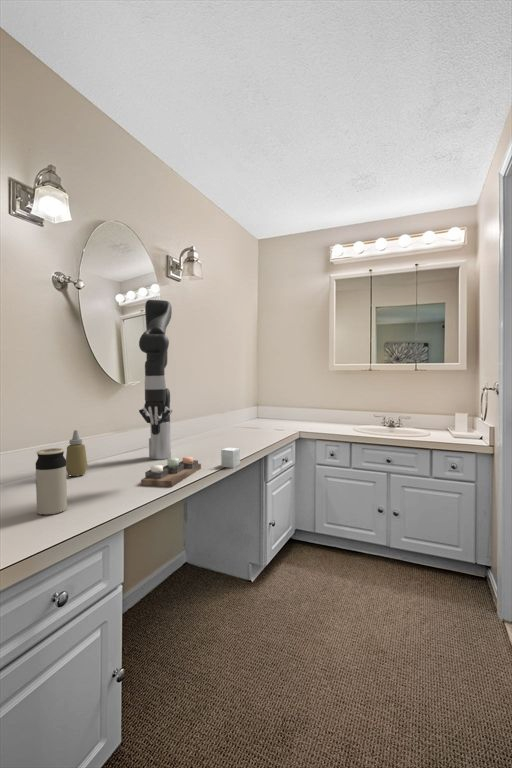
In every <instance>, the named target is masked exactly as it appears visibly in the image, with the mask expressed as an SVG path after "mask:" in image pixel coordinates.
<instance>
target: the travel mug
mask: <svg viewBox="0 0 512 768" xmlns="http://www.w3.org/2000/svg"><path fill="white" fill-rule="evenodd" d="M65 451H66V450H65V448H62V447H55V448H52V447H51V448H44V449H40V450H37V451H36V452H35V453H36V455H37V459H36V461H35V489H36V490H35V492H36V494H35V495H36V497H35V498H36V513H37V514H38V513H39V514H38V515H41V514H53V515H56V514H55V513H58V514H60V513H59V512H61V513H63V512H65V511H66V510H67V509H68V485H67V484H68V483H67V482H68V481H67V470H66V457H65V456H64V453H65ZM62 511H63V512H62Z"/></svg>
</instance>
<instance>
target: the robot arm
mask: <svg viewBox="0 0 512 768" xmlns="http://www.w3.org/2000/svg"><path fill="white" fill-rule="evenodd" d="M144 305H145V307H144V314H145V327H146V328H145V329H146V330H145V331H144V332H143V333H142V334H141V335H140V338H139V341H138V346H139V347H138V348H139V349H140V351H141V352H143V353H145V354H146V361H145V362H144V375H145V376H144V401H145V402H144V405H143V407H142V408H141V409H138V412H139V414H140V415H141V417H142V418H143V420H144V421H145V422H146V423H147V424H149V425H150V428H149V429H150V438H148V459H152V460H167V459H168V458H172V452H171V449H172V447H171V446H172V445H171V415H172V413H173V409H171V392H170V389H169V388H167V387H166V376H165V369H166V367H167V365H168V349H169V344H170V340H169V338H168V336H167V335H166V331H167V327H169V326H168V325H169V324H170V321H171V319H172V315H173V314H172V303H171V302H170V301H168V300H160V299H159V300H158V299H148V300H146V302H145V304H144Z"/></svg>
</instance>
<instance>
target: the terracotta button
mask: <svg viewBox="0 0 512 768" xmlns="http://www.w3.org/2000/svg"><path fill="white" fill-rule="evenodd" d="M193 460H194V457H193V456H184V457H182V461H183V463H193Z"/></svg>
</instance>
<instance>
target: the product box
mask: <svg viewBox="0 0 512 768" xmlns="http://www.w3.org/2000/svg"><path fill="white" fill-rule="evenodd" d="M240 449H241V448H238V447H225V448H223V449H221V451H220V453H221V458H220V459H221V462H220V463H221V466H220V467H222V468H230V469H231V468H233V469H234V468H236V467H238V466H240V465H241V455H240V451H241V450H240Z"/></svg>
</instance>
